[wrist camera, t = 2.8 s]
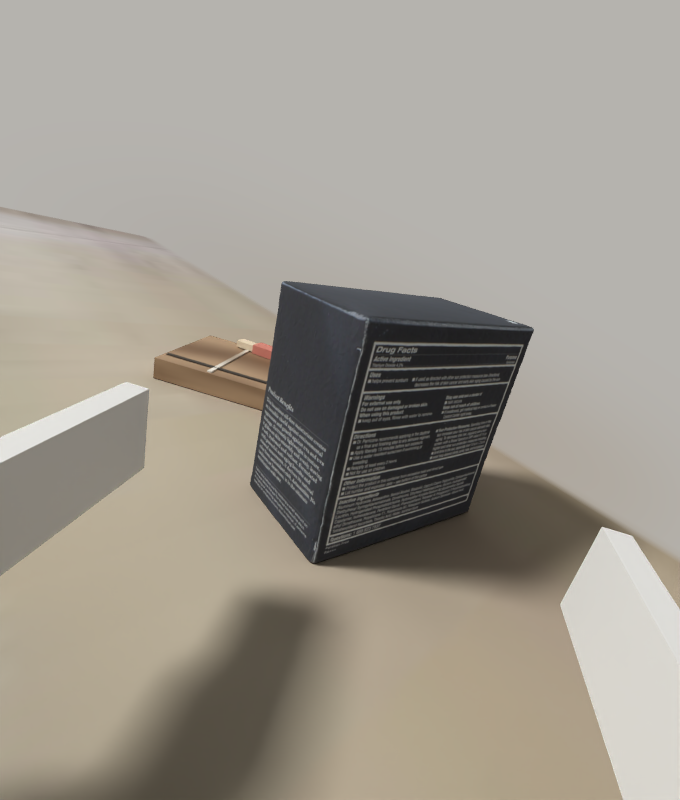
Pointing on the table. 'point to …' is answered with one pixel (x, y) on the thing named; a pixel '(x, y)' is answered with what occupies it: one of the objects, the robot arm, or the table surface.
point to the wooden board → (216, 370)
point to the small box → (378, 412)
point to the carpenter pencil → (256, 348)
